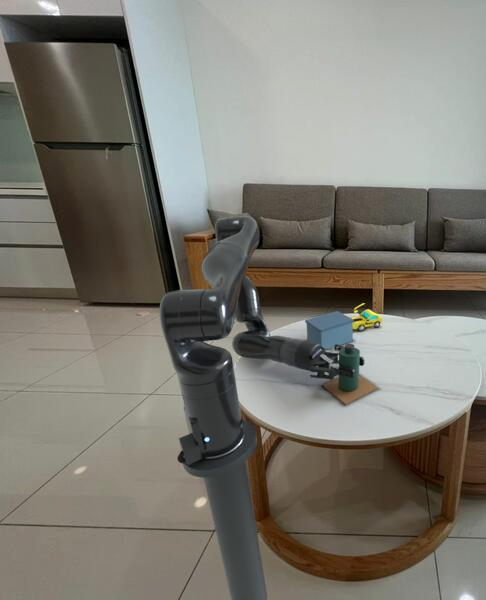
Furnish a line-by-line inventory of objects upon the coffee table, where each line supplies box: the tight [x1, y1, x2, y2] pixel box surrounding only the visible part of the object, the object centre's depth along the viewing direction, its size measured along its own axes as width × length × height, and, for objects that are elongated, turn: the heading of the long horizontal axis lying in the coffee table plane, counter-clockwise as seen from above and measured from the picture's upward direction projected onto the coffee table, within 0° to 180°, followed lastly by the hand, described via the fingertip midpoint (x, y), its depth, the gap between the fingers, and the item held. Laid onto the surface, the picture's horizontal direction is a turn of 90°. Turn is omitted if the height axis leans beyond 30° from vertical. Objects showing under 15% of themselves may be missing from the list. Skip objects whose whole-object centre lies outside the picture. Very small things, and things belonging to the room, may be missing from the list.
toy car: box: [350, 302, 383, 332], centre depth 117 cm, size 12×8×8 cm, turn 120°
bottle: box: [338, 343, 361, 392], centre depth 82 cm, size 5×5×12 cm
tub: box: [304, 310, 354, 349], centre depth 106 cm, size 13×10×8 cm
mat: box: [322, 374, 378, 406], centre depth 84 cm, size 10×10×1 cm
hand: (358, 367), depth 81 cm, fingers closed on bottle, 5 cm apart
